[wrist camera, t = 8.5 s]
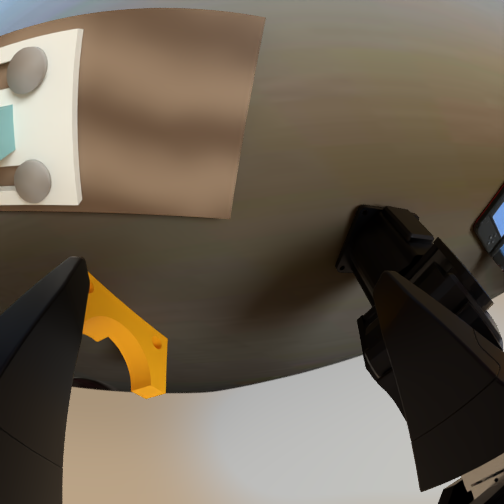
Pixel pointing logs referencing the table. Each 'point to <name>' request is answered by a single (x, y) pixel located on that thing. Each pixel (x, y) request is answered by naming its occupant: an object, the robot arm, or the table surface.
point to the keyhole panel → (45, 119)
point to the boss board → (147, 109)
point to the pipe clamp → (128, 339)
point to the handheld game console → (493, 228)
